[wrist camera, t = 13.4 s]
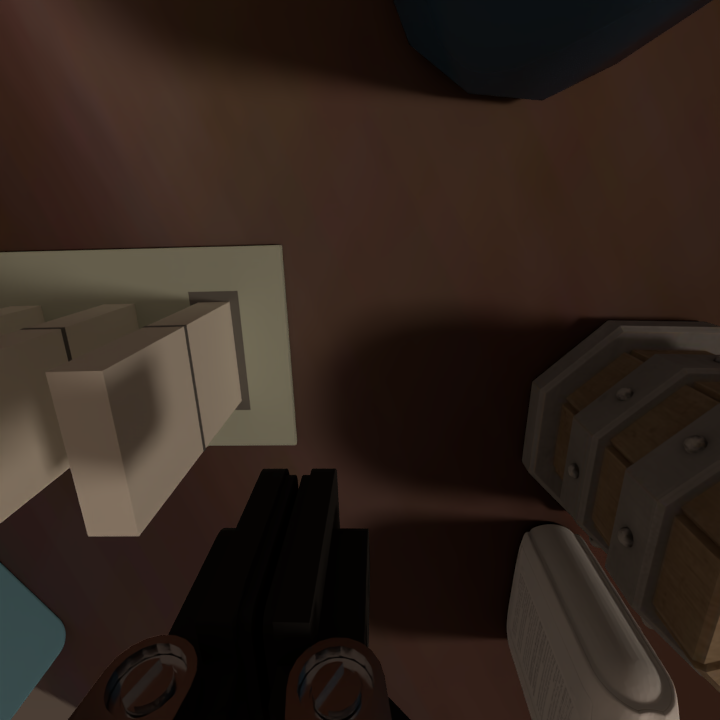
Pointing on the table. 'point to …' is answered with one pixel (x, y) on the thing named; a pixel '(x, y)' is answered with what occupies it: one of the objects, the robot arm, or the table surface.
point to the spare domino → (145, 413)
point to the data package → (24, 642)
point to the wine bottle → (533, 39)
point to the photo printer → (579, 638)
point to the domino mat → (174, 293)
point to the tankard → (642, 469)
